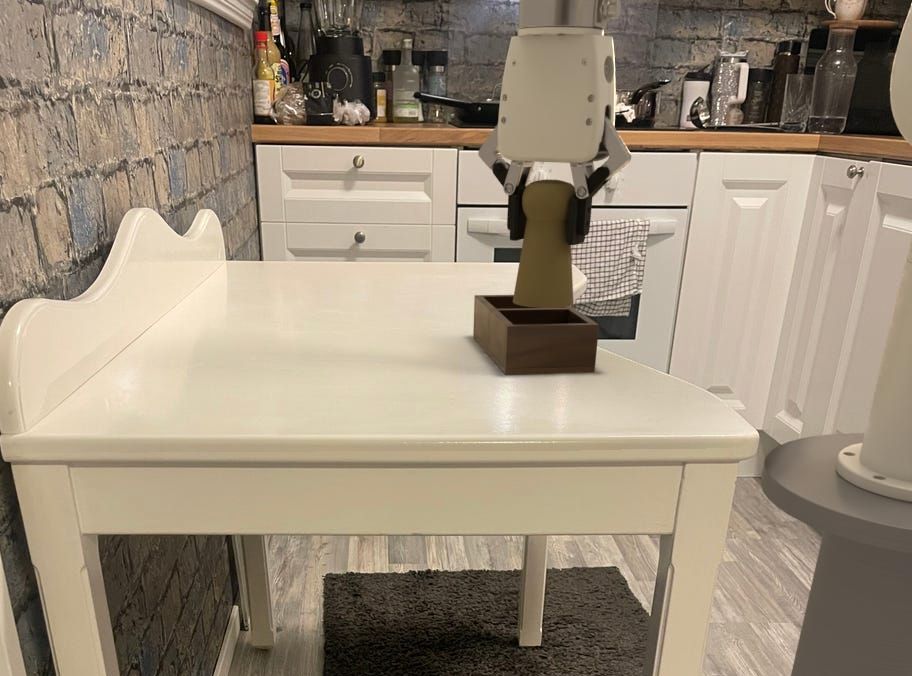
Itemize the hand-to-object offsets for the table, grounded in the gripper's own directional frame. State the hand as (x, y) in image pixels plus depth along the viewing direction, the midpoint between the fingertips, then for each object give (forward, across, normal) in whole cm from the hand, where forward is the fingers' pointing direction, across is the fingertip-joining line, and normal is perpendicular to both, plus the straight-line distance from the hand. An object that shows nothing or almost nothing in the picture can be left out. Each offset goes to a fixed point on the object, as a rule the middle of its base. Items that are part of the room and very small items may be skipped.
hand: (547, 239), depth 92 cm
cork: (+6, 0, 0) cm, 6 cm away
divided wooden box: (+12, +2, -3) cm, 13 cm away
